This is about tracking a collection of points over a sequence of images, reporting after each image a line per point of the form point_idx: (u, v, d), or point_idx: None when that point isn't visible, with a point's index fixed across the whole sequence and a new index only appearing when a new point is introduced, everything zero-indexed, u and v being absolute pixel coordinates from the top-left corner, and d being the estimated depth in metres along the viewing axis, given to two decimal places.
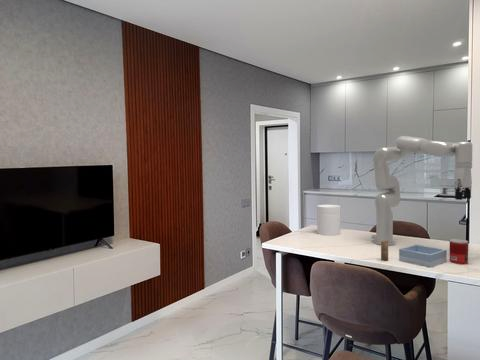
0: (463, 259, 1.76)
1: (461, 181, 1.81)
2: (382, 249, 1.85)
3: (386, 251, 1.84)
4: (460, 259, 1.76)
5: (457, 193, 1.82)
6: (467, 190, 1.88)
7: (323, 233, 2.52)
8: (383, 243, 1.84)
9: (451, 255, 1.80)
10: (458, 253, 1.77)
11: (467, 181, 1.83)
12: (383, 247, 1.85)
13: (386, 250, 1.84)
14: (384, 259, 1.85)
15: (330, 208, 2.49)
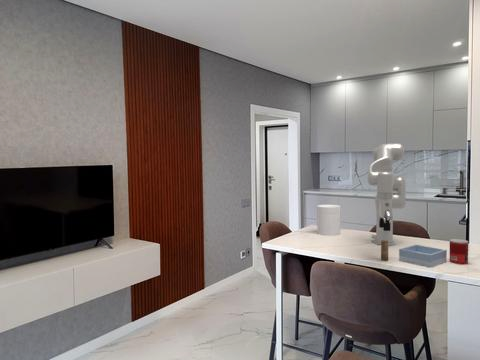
0: (463, 259, 1.76)
1: None
2: (382, 249, 1.85)
3: (386, 251, 1.84)
4: (460, 259, 1.76)
5: None
6: None
7: (323, 233, 2.52)
8: (383, 243, 1.84)
9: (451, 255, 1.80)
10: (458, 253, 1.77)
11: (379, 211, 1.86)
12: (383, 247, 1.85)
13: (386, 250, 1.84)
14: (384, 259, 1.85)
15: (330, 208, 2.49)
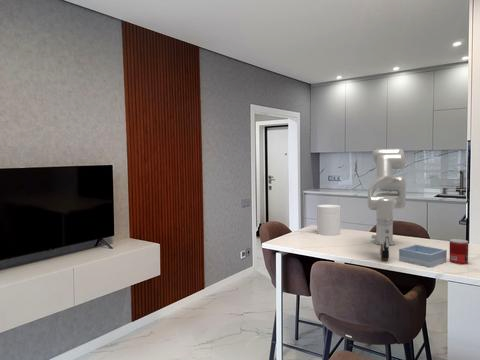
0: (463, 259, 1.76)
1: None
2: (382, 249, 1.85)
3: None
4: (460, 259, 1.76)
5: None
6: None
7: (323, 233, 2.52)
8: None
9: (451, 255, 1.80)
10: (458, 253, 1.77)
11: (379, 236, 1.87)
12: None
13: None
14: (384, 259, 1.85)
15: (330, 208, 2.49)
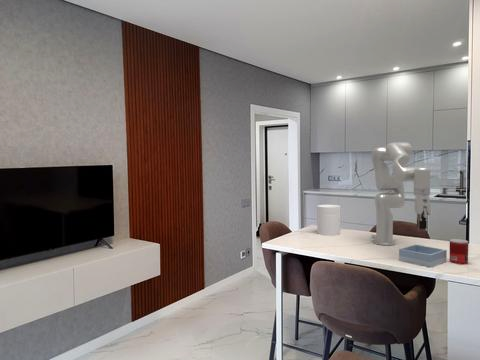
0: (463, 259, 1.76)
1: None
2: (419, 220, 1.81)
3: None
4: (460, 259, 1.76)
5: None
6: None
7: (323, 233, 2.52)
8: None
9: (451, 255, 1.80)
10: (458, 253, 1.77)
11: (416, 207, 1.83)
12: None
13: None
14: (421, 230, 1.81)
15: (330, 208, 2.49)
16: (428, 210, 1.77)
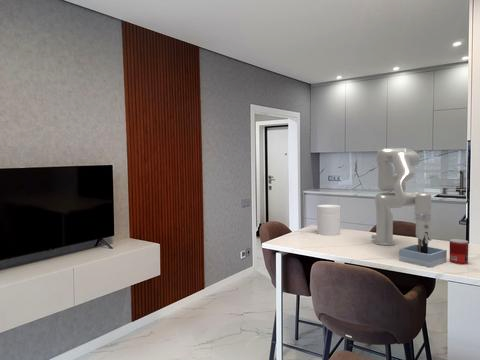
0: (463, 259, 1.76)
1: None
2: (420, 245, 1.82)
3: None
4: (460, 259, 1.76)
5: None
6: None
7: (323, 233, 2.52)
8: None
9: (451, 255, 1.80)
10: (458, 253, 1.77)
11: (417, 232, 1.84)
12: None
13: None
14: None
15: (330, 208, 2.49)
16: (429, 236, 1.77)
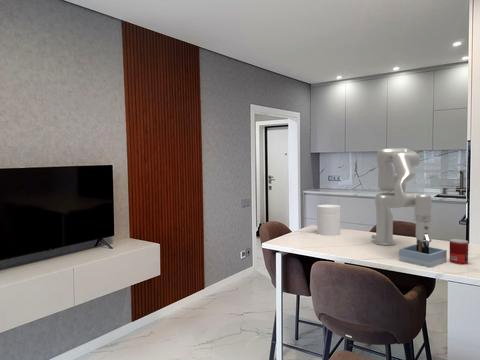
0: (463, 259, 1.76)
1: None
2: (420, 250, 1.82)
3: None
4: (460, 259, 1.76)
5: None
6: None
7: (323, 233, 2.52)
8: (421, 244, 1.81)
9: (451, 255, 1.80)
10: (458, 253, 1.77)
11: (417, 233, 1.84)
12: (421, 248, 1.82)
13: None
14: None
15: (330, 208, 2.49)
16: (429, 237, 1.77)
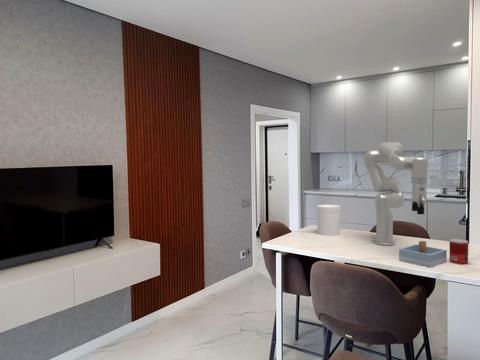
0: (463, 259, 1.76)
1: None
2: (420, 250, 1.82)
3: (424, 252, 1.81)
4: (460, 259, 1.76)
5: None
6: None
7: (323, 233, 2.52)
8: (421, 244, 1.81)
9: (451, 255, 1.80)
10: (458, 253, 1.77)
11: (413, 195, 1.92)
12: (421, 248, 1.82)
13: (424, 251, 1.81)
14: None
15: (330, 208, 2.49)
16: (424, 198, 1.85)
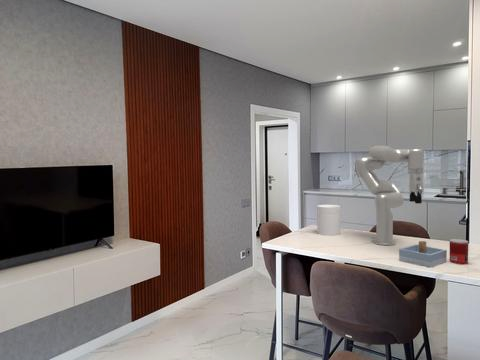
0: (463, 259, 1.76)
1: None
2: (420, 250, 1.82)
3: (424, 252, 1.81)
4: (460, 259, 1.76)
5: None
6: None
7: (323, 233, 2.52)
8: (421, 244, 1.81)
9: (451, 255, 1.80)
10: (458, 253, 1.77)
11: (410, 185, 1.99)
12: (421, 248, 1.82)
13: (424, 251, 1.81)
14: None
15: (330, 208, 2.49)
16: (421, 187, 1.92)
